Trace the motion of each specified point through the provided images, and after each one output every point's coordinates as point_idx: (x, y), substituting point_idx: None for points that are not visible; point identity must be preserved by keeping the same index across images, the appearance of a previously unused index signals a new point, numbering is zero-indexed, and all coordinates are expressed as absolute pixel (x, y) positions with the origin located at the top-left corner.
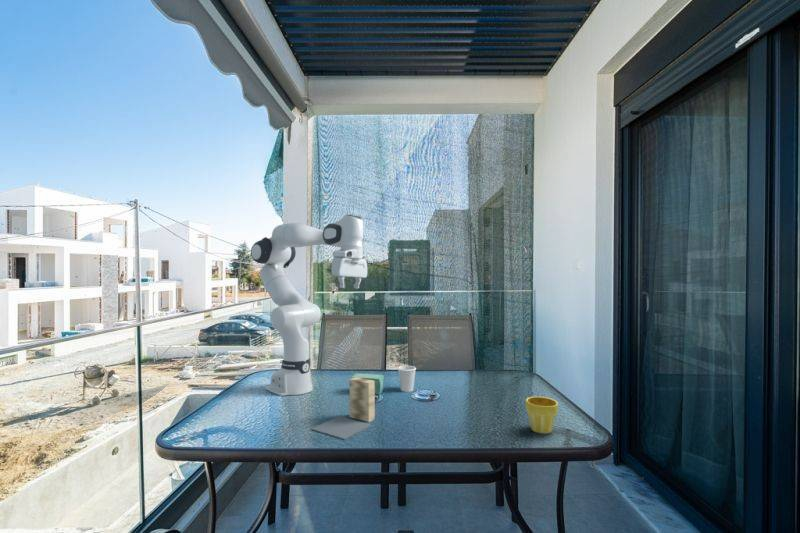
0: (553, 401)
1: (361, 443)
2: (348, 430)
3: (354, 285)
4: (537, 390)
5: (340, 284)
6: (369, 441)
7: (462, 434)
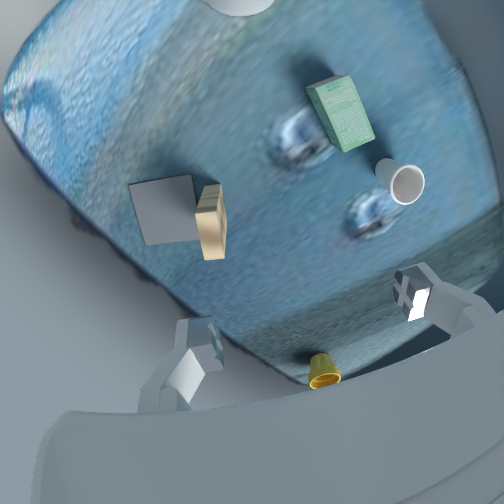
0: (334, 383)
1: (156, 265)
2: (164, 229)
3: (408, 290)
4: None
5: (178, 346)
6: (167, 268)
7: (261, 324)
